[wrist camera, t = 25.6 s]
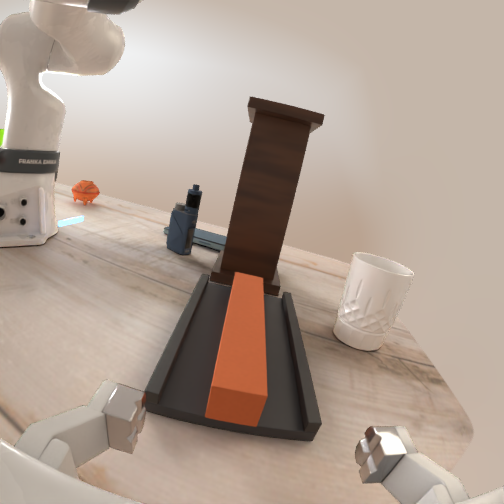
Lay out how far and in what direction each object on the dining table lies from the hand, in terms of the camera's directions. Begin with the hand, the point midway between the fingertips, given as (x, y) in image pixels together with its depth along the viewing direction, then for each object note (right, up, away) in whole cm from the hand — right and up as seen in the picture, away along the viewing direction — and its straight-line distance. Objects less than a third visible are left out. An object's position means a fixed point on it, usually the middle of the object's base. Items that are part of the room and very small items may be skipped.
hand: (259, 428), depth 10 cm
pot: (-45, +19, +65) cm, 81 cm away
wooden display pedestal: (-1, +2, +41) cm, 41 cm away
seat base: (-2, -3, +21) cm, 21 cm away
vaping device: (-13, +6, +45) cm, 47 cm away
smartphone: (-11, +8, +55) cm, 57 cm away
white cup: (+13, -5, +28) cm, 31 cm away
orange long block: (-1, -2, +19) cm, 20 cm away
